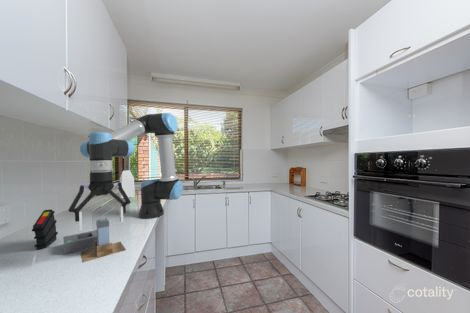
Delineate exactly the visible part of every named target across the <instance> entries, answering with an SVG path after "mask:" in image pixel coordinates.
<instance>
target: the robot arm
mask: <svg viewBox="0 0 470 313" xmlns="http://www.w3.org/2000/svg"><path fill="white" fill-rule="evenodd" d="M177 130H178V121H177V118H176V117H175V116H174V115H173V113H171V112H161V113H149V114H145V115H143V116H139V117H137V118H135V119H133V120H131V121H130V122H129V124H126V125H125V126H122V127H120V128H118V129H116V130H114V131H112V132H106V131H93V132H90V133H89V137H88V140H87V141H83V142H81V145H80V147H79V152H80V153H81V155H82V156H83V157H85V158H89V171H90V173H89V185H83V184H80V186H79V190H78V193H77V194H76V196H75V197H74V199H73V201H72V203H71V204H70V205H69V208H68V212H69V213H74V220H75V222H78V231H83V212H82V209H83V208H84V207H85V206H86V205H87V204H88V203H89V202H90V201H91V199H92V198H93V197H94V196H97V197H99V196H107V195H108V194H109V195H110V196H112V198H114V199H115V200H116V201H117V203H119V204H120V205H119V222H120V223H121V224H122V223H124V214H126V211H127V208H126V207H127V205H129V204H131V200H130V198H128V197H127V195H126V193H125V192H124V190H123V188H122V184H121V183H120V181H118V182H115V183H114V182H113V172H112V171H113V158H118V157H121V158H127V157H130V156H133V154H134V151H135V145H134V144H133V142H132V141H131V140H132V139H134V138H136V137H138V136H143V135H145V134H154V137H155V138H156V139H157V143H158V154H159V166H160V173H161V177H160V178H155V179H148V180H143V181H142V182H141V183H140V197H141V198H140V199H141V201H140V203H141V204H140V208H139V211H138V218H140V219H154V218H159V217H162V216H164V214H165V213H164V208H163V206H162V203H161V202H162V201H161V200H166V201H167V200H168V201H172V200H176V201H177V200H178V199H179V198H180V197H181V195H182V193H183V191H184V189H183V188H184V184H183V181H181V180H179V176H178V175H176V164H175V155H174V154H175V152H174V150H175V149H174V142H173V141H174V140H173V138H174V137H175V135H176V134H175V133H176V132H177ZM114 187H115V189H118V191H120V193H121V194H122V196H123V198H124V199H123V200H124V201H123V200H122V199H121V198H120V197H119V195H117V194H116V193H115V192H114V191H113V188H114ZM87 190H89V191H90V192H89V194H88V195H87V196H86V197H85V198H84V199H83V201H81V202H80V203H79V201H80V199H81V197H82V196H83V194H84V192H86V191H87ZM78 203H79V205H78ZM77 205H78V206H77ZM76 206H77V207H76Z"/></svg>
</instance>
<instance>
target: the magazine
mask: <svg viewBox="0 0 470 313" xmlns="http://www.w3.org/2000/svg"><path fill="white" fill-rule="evenodd" d="M56 224H57V220H56V219H55V210H53V209H44V210H42V212H41V214H40V215H39V217H38V218H37V219H36V221H35V223H34V224H33V225H32V228H31V232H34V235H35V236H34V237H33V239H34V240H35V241H36V242H35V245H34V247H35V248H36V250H37V251H39V250H45V249H47V248H49V247H50V246H51V245H52V244H53V243H54V242H55V241H56V240H57V235H58V234H59V231H57V227H56Z"/></svg>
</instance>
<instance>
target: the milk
mask: <svg viewBox="0 0 470 313" xmlns="http://www.w3.org/2000/svg"><path fill="white" fill-rule="evenodd" d="M119 182H120V183H121V184H122V188H123V190H124V192H125V193H126V195H127V197H128V198H129V197H132V198H136V189H135V188H136V187H135V178H134V175H133V173H132V172H131V170H128V169H126V170H122V172H121V174H120V177H119ZM118 191H119V190H118ZM118 193H119V194H118V197H119V198H120V199H121V198H123V196H122V194H121V193H120V191H119V192H118ZM129 199H130V198H129Z"/></svg>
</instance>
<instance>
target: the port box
mask: <svg viewBox="0 0 470 313" xmlns="http://www.w3.org/2000/svg"><path fill="white" fill-rule="evenodd" d="M62 240H63V255H65V256H66V255H68V254H72V253H76V252H82V251H86V250H90V249H94V241H95V240H97V229H95V230H90V231H86V232H81V233H75V234H70V235H67V236H66V235H65V236H63V239H62Z"/></svg>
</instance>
